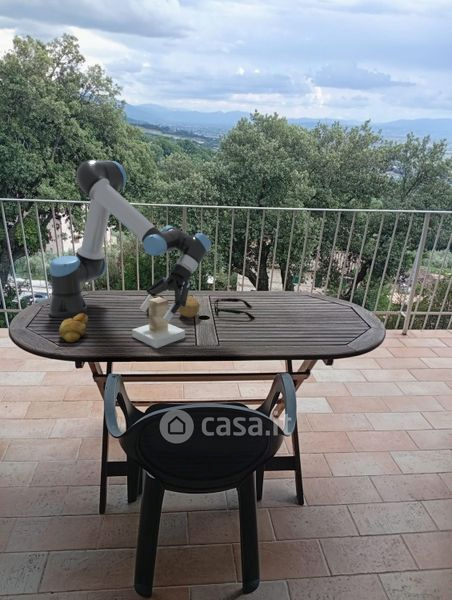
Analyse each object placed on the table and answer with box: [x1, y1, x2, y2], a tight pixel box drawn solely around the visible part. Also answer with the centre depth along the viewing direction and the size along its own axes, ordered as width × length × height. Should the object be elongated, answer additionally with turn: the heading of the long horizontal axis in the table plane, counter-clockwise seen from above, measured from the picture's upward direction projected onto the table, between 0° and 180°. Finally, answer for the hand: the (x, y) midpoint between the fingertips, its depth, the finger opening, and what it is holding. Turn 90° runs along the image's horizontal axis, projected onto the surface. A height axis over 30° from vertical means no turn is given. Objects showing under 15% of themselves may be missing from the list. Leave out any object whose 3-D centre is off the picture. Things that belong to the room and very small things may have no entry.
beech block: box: [148, 297, 169, 333], centre depth 158 cm, size 5×5×12 cm
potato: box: [177, 295, 201, 319], centre depth 183 cm, size 10×14×8 cm
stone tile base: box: [131, 323, 186, 349], centre depth 161 cm, size 14×14×3 cm
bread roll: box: [58, 313, 89, 343], centre depth 157 cm, size 13×10×8 cm
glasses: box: [213, 298, 256, 320], centre depth 190 cm, size 17×18×5 cm
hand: (153, 314), depth 156 cm, fingers open, 13 cm apart
